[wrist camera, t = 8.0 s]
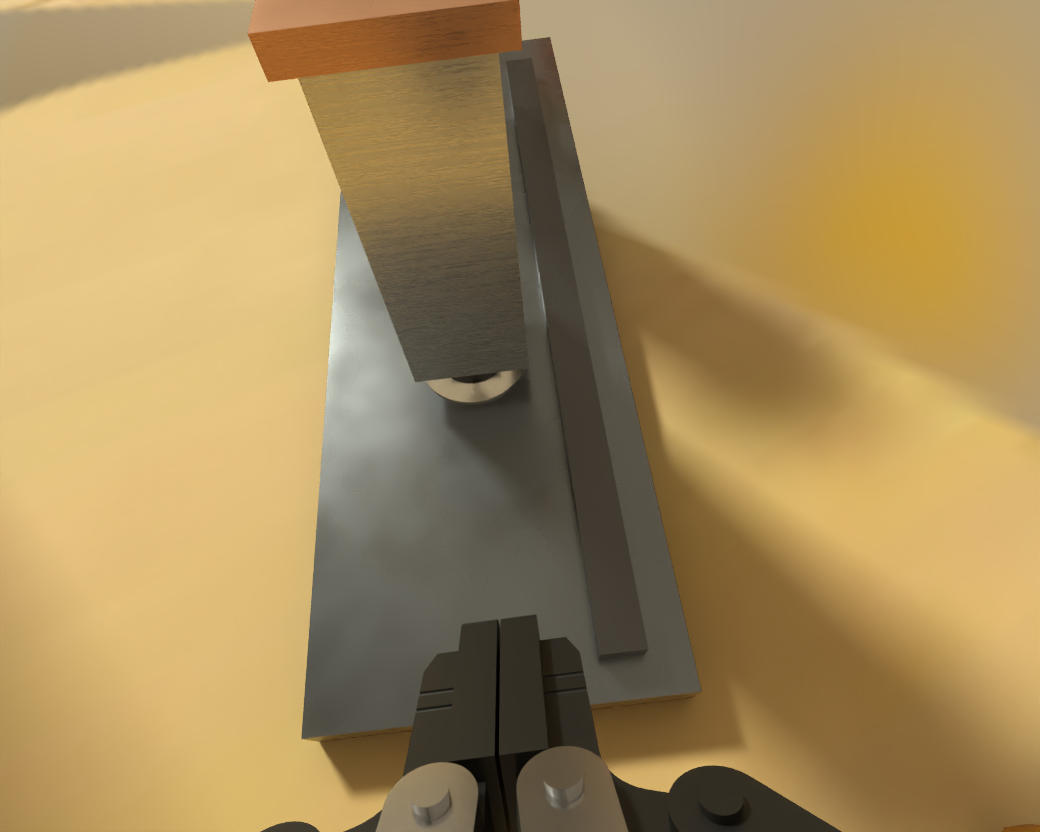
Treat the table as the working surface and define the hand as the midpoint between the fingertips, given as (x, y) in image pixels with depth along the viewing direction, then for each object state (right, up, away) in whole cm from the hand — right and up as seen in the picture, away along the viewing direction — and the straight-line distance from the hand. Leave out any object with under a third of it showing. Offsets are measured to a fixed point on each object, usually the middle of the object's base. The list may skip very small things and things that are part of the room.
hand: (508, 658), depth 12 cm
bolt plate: (-2, +10, +12) cm, 15 cm away
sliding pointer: (-1, +7, +9) cm, 11 cm away
